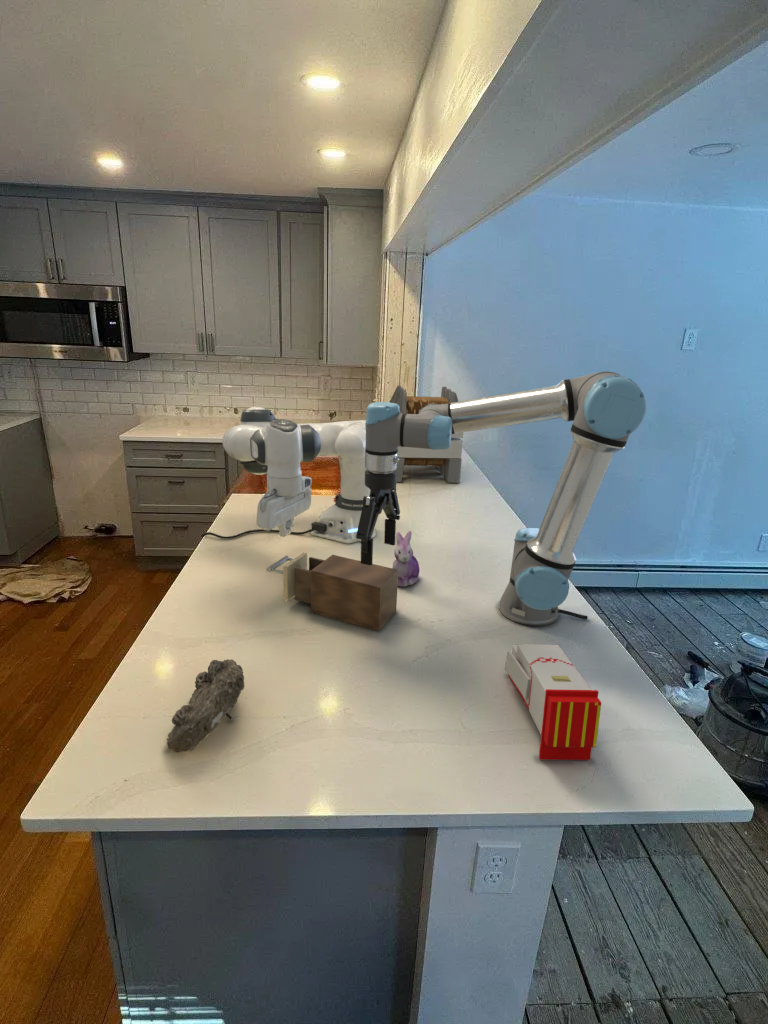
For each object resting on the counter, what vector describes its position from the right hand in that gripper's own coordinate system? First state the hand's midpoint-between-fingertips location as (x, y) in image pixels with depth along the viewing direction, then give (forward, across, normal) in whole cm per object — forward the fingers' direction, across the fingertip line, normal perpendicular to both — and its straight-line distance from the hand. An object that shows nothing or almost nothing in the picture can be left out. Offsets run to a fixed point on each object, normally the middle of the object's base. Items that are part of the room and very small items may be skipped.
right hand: (378, 553), depth 139 cm
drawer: (+17, 0, +19) cm, 25 cm away
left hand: (0, 0, +27) cm, 27 cm away
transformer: (+18, +133, +39) cm, 140 cm away
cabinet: (+18, 0, +6) cm, 19 cm away
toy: (+18, -17, -44) cm, 51 cm away
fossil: (+18, -48, +12) cm, 53 cm away
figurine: (+18, +23, +2) cm, 29 cm away
